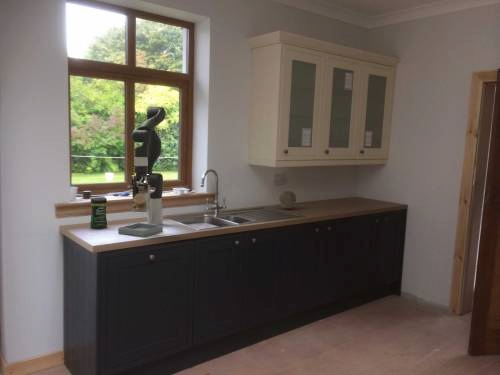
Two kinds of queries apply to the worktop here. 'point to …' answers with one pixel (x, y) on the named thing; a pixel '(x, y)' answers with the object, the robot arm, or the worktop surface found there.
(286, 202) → the cantaloupe
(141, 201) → the coffee box
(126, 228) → the tray
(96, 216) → the coffee jar
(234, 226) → the worktop surface
